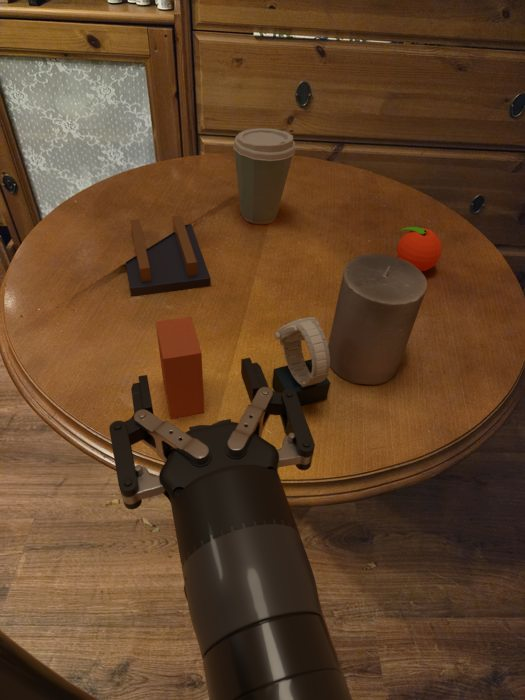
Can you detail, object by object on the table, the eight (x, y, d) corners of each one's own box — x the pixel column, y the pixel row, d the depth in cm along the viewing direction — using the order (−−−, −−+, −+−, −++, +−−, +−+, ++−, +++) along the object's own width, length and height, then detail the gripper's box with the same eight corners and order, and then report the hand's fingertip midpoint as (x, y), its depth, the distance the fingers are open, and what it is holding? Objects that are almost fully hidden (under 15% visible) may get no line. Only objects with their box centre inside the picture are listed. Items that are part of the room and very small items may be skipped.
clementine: (379, 267, 82) (389, 229, 77) (397, 249, 87) (407, 212, 82) (424, 285, 79) (438, 247, 74) (440, 266, 83) (454, 229, 78)
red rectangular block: (204, 412, 59) (201, 352, 52) (170, 419, 58) (163, 359, 51) (195, 376, 63) (191, 316, 56) (163, 381, 62) (155, 321, 55)
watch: (304, 364, 65) (315, 299, 58) (333, 410, 60) (349, 344, 52) (265, 375, 64) (271, 309, 56) (291, 422, 58) (301, 357, 51)
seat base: (210, 285, 76) (210, 264, 73) (131, 296, 73) (127, 274, 71) (191, 231, 87) (190, 211, 84) (121, 238, 84) (118, 217, 81)
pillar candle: (358, 326, 71) (380, 235, 61) (413, 364, 66) (448, 272, 56) (310, 355, 67) (326, 262, 56) (366, 399, 62) (395, 305, 51)
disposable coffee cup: (219, 212, 92) (219, 130, 82) (263, 196, 98) (268, 117, 87) (256, 237, 87) (261, 152, 76) (300, 218, 92) (310, 137, 82)
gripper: (361, 503, 29) (279, 326, 40) (115, 565, 26) (99, 355, 37) (341, 557, 35) (273, 387, 46) (134, 614, 31) (115, 417, 42)
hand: (195, 373), depth 41 cm, fingers open, 8 cm apart
